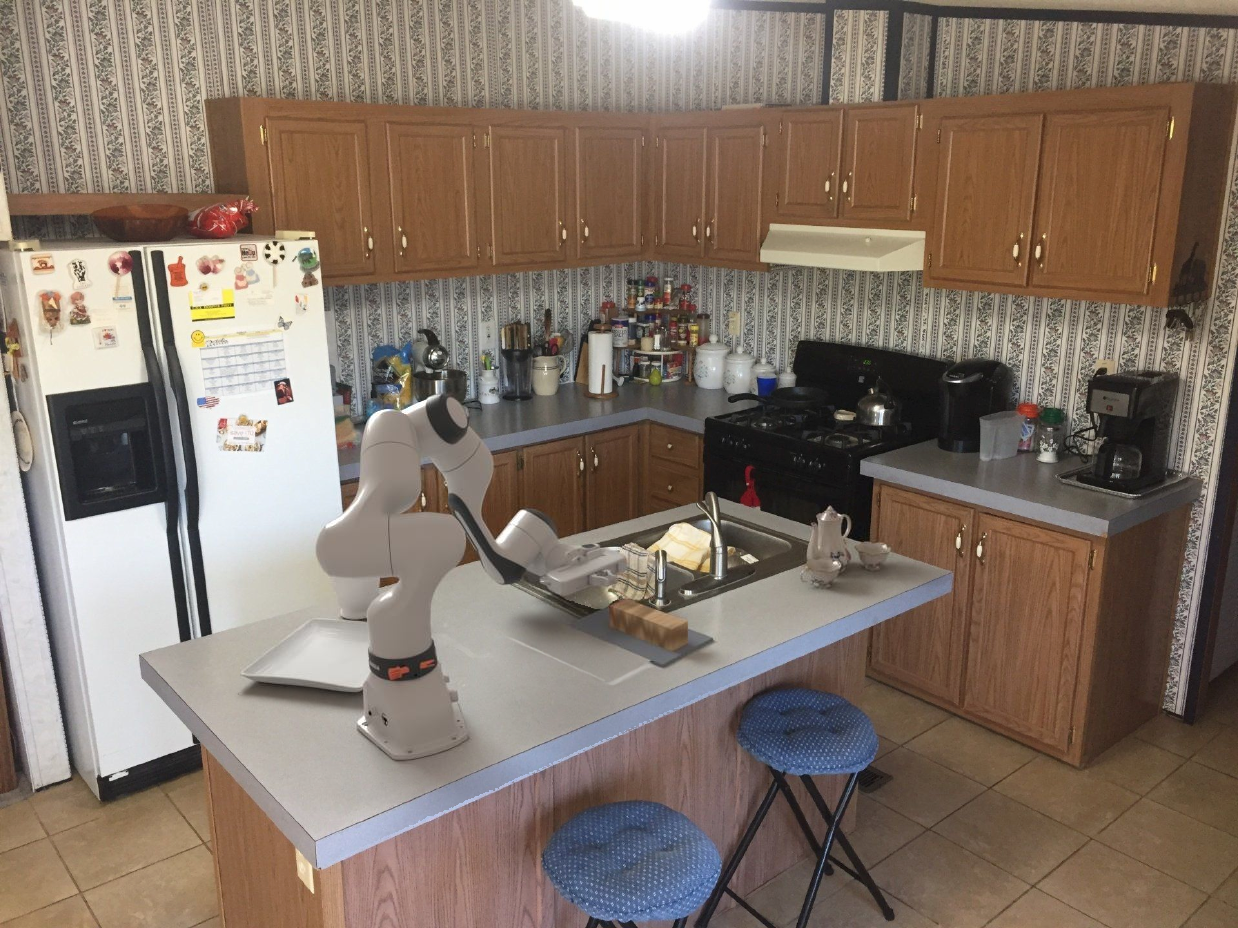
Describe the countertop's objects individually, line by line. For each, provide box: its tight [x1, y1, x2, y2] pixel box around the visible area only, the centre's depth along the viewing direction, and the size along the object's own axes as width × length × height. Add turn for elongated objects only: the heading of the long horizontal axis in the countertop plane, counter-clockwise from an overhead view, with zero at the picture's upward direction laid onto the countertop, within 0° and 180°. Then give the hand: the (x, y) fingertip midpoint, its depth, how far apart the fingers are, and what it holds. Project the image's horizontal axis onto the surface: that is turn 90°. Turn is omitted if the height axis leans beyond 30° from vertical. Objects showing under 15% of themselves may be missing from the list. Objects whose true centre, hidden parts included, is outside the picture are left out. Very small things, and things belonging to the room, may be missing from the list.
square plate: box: [239, 617, 370, 693], centre depth 209 cm, size 27×27×4 cm
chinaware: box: [799, 505, 893, 589], centre depth 247 cm, size 28×17×17 cm, turn 131°
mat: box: [567, 605, 714, 668], centre depth 219 cm, size 28×16×1 cm, turn 46°
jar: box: [330, 577, 381, 621], centre depth 231 cm, size 11×10×15 cm
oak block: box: [608, 598, 689, 651], centre depth 216 cm, size 5×5×18 cm
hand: (612, 581), depth 221 cm, fingers closed
